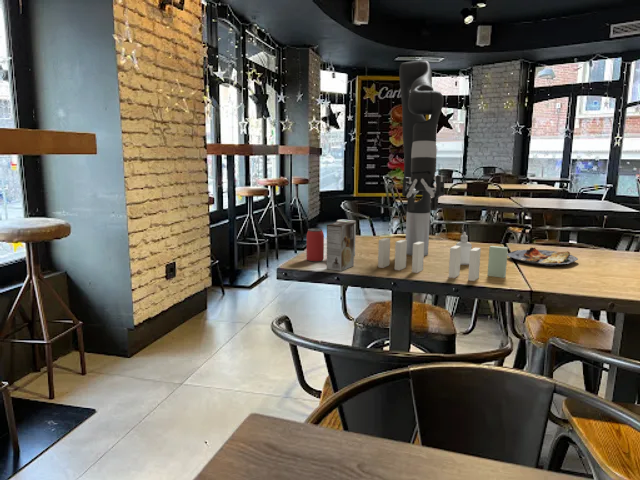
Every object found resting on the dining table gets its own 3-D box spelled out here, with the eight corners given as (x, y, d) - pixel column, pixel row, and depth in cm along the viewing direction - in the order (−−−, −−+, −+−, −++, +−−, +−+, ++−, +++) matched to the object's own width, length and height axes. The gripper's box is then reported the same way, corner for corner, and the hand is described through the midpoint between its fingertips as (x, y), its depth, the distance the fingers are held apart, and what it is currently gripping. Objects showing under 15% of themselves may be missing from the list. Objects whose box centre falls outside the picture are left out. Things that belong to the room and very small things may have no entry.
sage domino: (487, 275, 166) (489, 246, 164) (488, 274, 168) (490, 245, 166) (504, 277, 163) (506, 248, 162) (505, 276, 165) (507, 247, 163)
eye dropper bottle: (468, 265, 180) (470, 233, 178) (453, 263, 183) (455, 232, 181) (471, 263, 184) (473, 232, 182) (457, 261, 187) (458, 230, 185)
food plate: (525, 251, 207) (526, 243, 206) (585, 260, 190) (586, 252, 190) (498, 261, 190) (498, 253, 189) (561, 273, 173) (562, 263, 173)
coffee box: (338, 264, 182) (339, 221, 179) (354, 266, 178) (354, 222, 175) (325, 269, 174) (326, 224, 171) (341, 271, 171) (342, 225, 168)
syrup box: (335, 256, 195) (335, 220, 192) (344, 254, 199) (344, 218, 197) (346, 258, 191) (347, 221, 189) (355, 256, 196) (356, 220, 193)
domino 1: (384, 264, 182) (385, 237, 180) (389, 265, 181) (390, 238, 179) (377, 267, 177) (378, 240, 175) (383, 267, 176) (383, 240, 174)
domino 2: (400, 266, 178) (401, 239, 177) (405, 267, 177) (406, 240, 176) (394, 269, 174) (395, 241, 172) (399, 270, 173) (400, 242, 171)
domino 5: (472, 276, 165) (474, 247, 163) (478, 277, 164) (480, 248, 162) (468, 280, 160) (469, 250, 158) (474, 281, 159) (476, 250, 157)
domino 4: (453, 274, 168) (455, 245, 166) (459, 274, 167) (461, 246, 165) (448, 277, 164) (450, 248, 162) (454, 278, 162) (456, 248, 161)
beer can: (321, 262, 184) (322, 231, 182) (304, 261, 185) (304, 230, 183) (325, 258, 190) (325, 228, 188) (308, 258, 192) (308, 227, 189)
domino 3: (417, 268, 175) (418, 241, 173) (423, 269, 174) (424, 242, 172) (411, 272, 170) (413, 243, 169) (417, 272, 169) (418, 244, 168)
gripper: (450, 156, 147) (448, 211, 148) (413, 160, 158) (411, 210, 158) (435, 154, 142) (433, 210, 143) (397, 157, 153) (396, 210, 154)
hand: (422, 210), depth 151 cm, fingers open, 8 cm apart
